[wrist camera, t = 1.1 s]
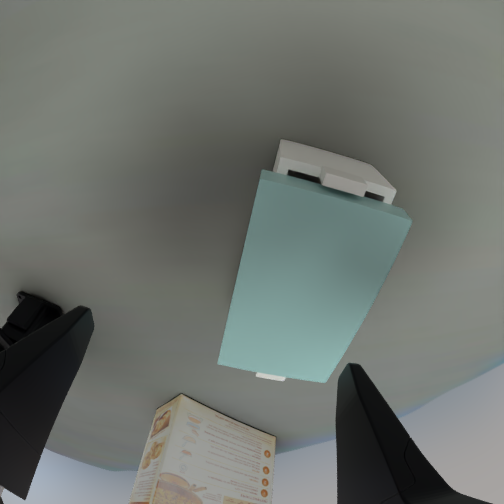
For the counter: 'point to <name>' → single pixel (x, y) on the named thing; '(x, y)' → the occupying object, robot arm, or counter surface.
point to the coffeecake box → (203, 459)
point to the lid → (307, 276)
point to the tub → (330, 177)
